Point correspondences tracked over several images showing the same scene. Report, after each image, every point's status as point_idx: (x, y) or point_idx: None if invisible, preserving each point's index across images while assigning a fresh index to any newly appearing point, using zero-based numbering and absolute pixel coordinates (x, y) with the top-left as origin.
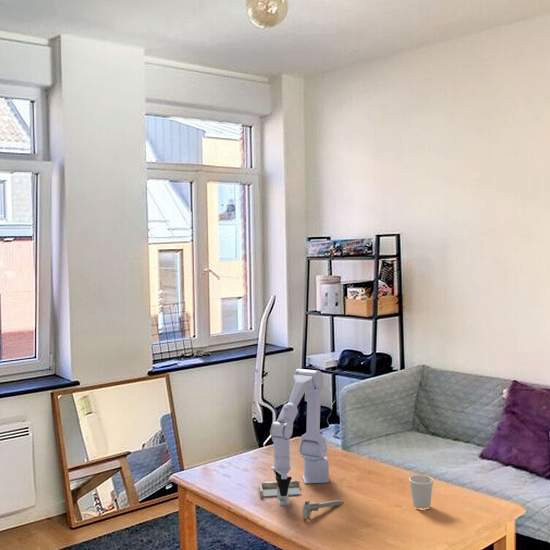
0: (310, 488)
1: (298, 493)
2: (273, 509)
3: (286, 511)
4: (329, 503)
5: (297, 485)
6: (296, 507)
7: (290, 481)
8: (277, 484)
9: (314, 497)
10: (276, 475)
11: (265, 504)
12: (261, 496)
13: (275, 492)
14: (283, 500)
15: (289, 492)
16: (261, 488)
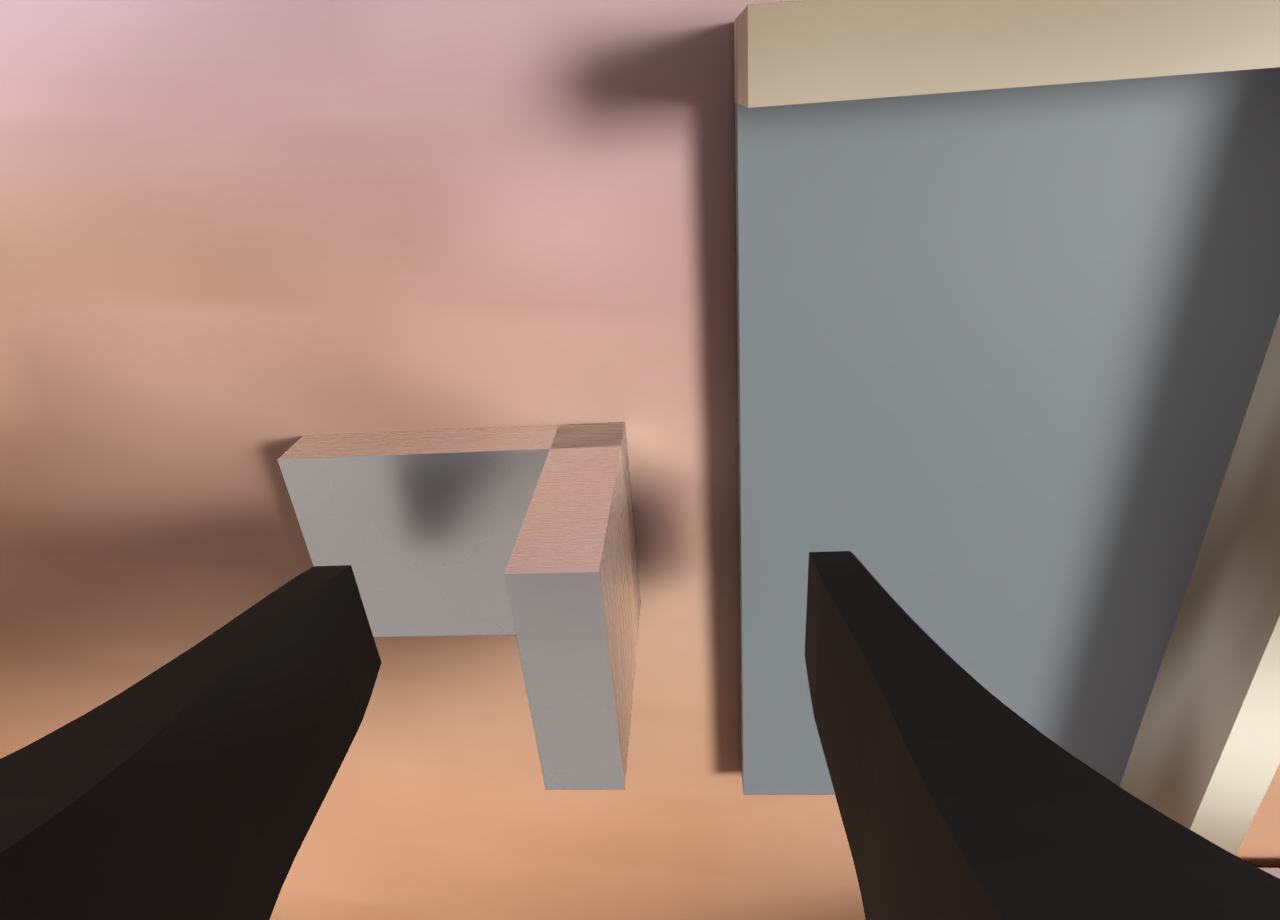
0: None
1: (765, 768)
2: (94, 329)
3: (72, 539)
4: None
5: None
6: None
7: (1212, 776)
8: (1269, 505)
9: (646, 890)
10: (922, 809)
11: (323, 161)
12: (738, 56)
13: (909, 417)
14: (408, 547)
15: None
16: (981, 55)
